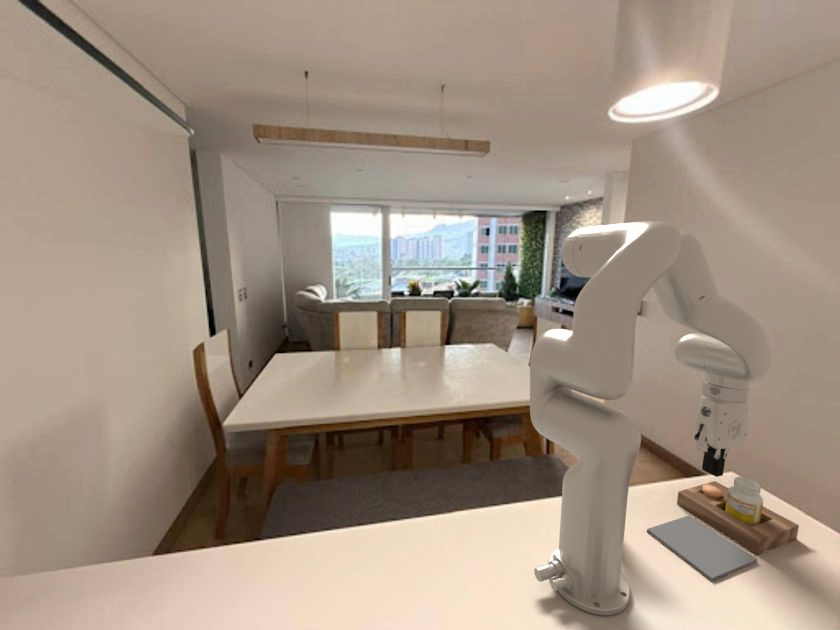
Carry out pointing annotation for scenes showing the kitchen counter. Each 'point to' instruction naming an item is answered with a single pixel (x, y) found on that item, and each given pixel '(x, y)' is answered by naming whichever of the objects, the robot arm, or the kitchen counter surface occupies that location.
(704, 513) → the housing
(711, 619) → the kitchen counter surface
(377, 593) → the kitchen counter surface
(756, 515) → the supplement bottle
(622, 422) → the robot arm
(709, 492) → the peach rounded piece
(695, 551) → the pad
